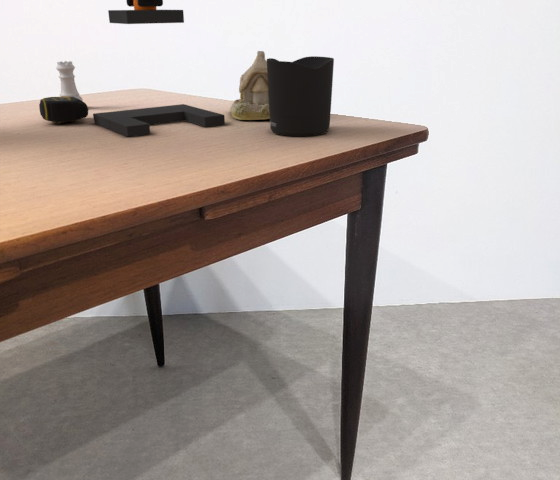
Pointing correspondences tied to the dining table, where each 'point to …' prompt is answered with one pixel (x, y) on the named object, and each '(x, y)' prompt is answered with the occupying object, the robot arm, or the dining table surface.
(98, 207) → the dining table surface
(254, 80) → the ceramic model
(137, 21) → the orange peg with base
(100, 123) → the black u-shaped block
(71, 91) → the rook chess piece
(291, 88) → the pen holder
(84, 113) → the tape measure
